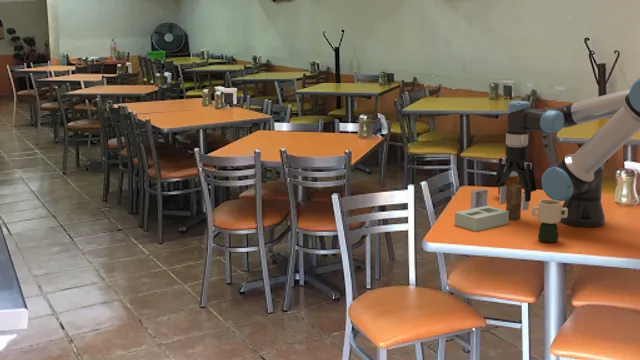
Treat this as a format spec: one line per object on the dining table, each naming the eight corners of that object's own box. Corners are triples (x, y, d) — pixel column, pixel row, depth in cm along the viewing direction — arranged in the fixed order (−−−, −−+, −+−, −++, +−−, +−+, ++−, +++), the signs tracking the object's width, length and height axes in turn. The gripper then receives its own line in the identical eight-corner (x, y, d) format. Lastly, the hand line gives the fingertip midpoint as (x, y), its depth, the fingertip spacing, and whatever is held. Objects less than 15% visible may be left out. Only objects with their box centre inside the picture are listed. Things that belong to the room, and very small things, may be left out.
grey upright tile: (486, 213, 268) (487, 189, 266) (475, 216, 265) (476, 192, 263) (481, 212, 270) (482, 188, 268) (470, 214, 267) (471, 190, 265)
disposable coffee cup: (491, 199, 289) (493, 169, 286) (500, 194, 297) (502, 165, 294) (515, 202, 284) (516, 172, 281) (523, 197, 291) (525, 168, 289)
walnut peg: (520, 218, 261) (522, 185, 259) (513, 220, 259) (515, 187, 257) (512, 216, 264) (514, 184, 262) (505, 217, 262) (507, 185, 260)
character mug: (564, 238, 237) (567, 199, 234) (566, 245, 230) (569, 205, 228) (529, 236, 240) (531, 198, 237) (530, 243, 233) (533, 203, 230)
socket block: (508, 223, 255) (508, 211, 254) (475, 231, 246) (476, 218, 245) (486, 217, 263) (487, 205, 262) (454, 224, 254) (455, 212, 253)
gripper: (549, 148, 249) (545, 211, 254) (499, 140, 267) (497, 199, 272) (535, 151, 245) (531, 215, 250) (485, 142, 263) (482, 202, 268)
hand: (513, 206), depth 261 cm, fingers open, 10 cm apart
